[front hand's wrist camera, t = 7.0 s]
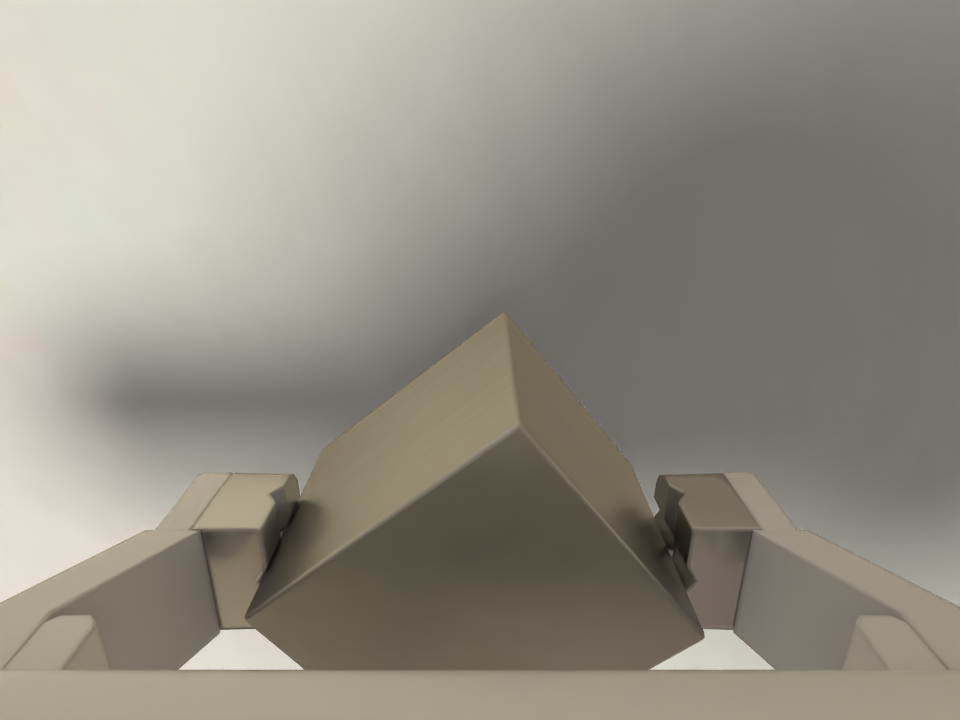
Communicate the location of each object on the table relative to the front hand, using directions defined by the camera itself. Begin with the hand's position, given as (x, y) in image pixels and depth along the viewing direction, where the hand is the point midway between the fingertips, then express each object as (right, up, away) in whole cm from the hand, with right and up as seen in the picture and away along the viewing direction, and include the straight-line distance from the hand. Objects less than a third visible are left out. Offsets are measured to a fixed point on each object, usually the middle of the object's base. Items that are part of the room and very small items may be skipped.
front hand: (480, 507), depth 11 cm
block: (0, +1, +2) cm, 2 cm away
